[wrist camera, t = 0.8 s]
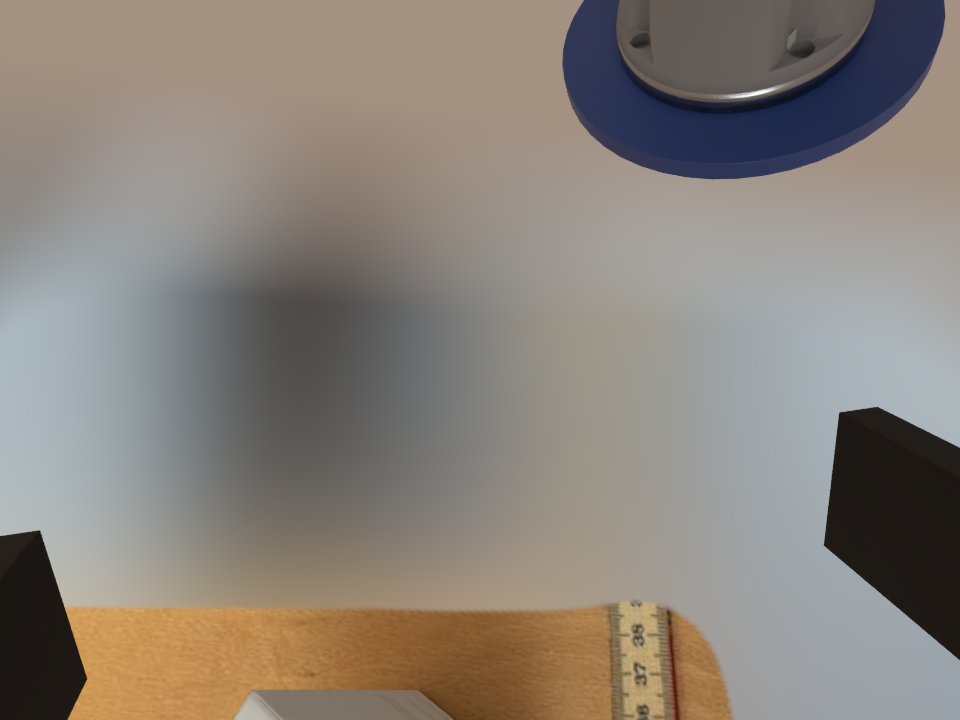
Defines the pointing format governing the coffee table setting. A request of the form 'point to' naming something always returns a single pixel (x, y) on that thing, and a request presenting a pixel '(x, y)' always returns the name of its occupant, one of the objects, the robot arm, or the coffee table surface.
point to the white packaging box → (339, 705)
